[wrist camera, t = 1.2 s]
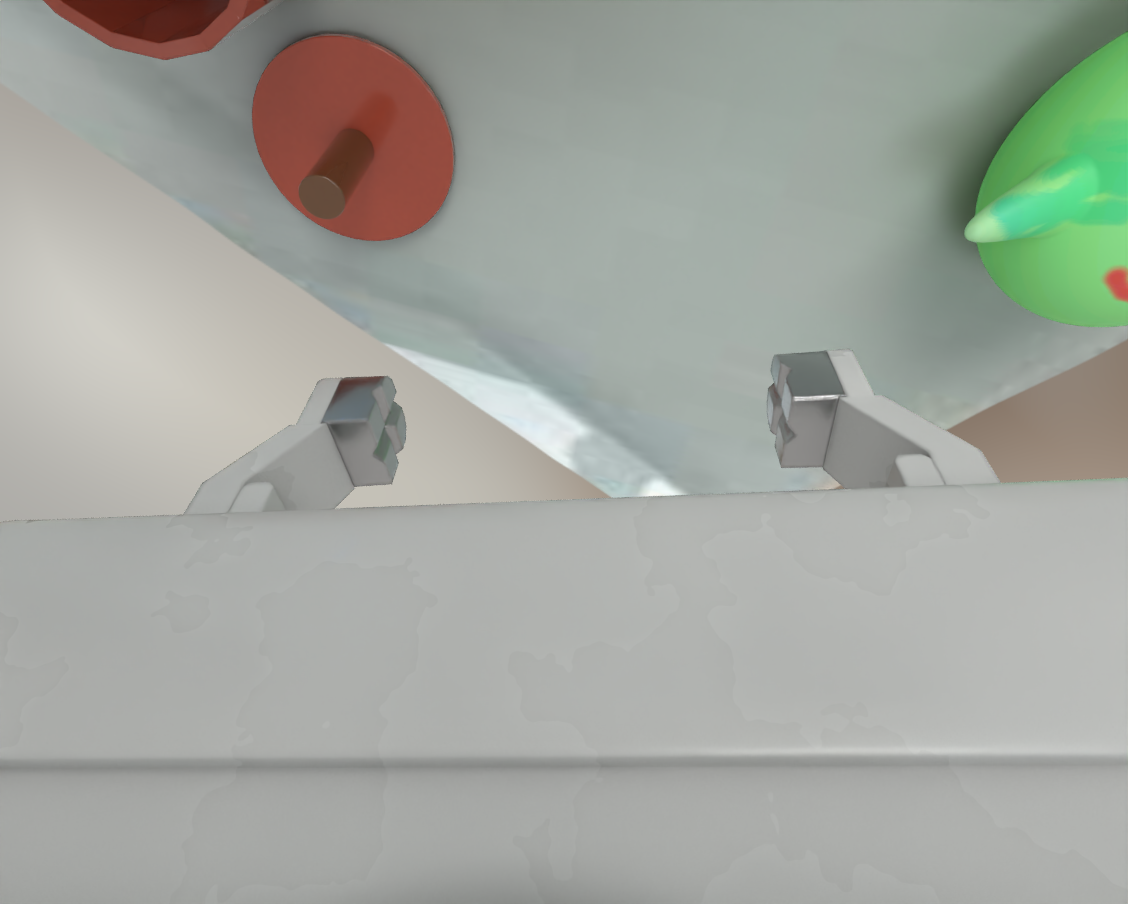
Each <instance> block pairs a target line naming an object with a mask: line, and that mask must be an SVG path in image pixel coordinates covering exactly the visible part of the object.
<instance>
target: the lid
mask: <svg viewBox="0 0 1128 904" xmlns="http://www.w3.org/2000/svg"><path fill="white" fill-rule="evenodd" d="M252 124H253V131H254V137H255V142H256V145H257V149H258V152H259V155H260V157H261V159H262V162H263V164H264V166H265V168H266V170H267V172H268V174H269V176H270V177H271V179H272V180H273V182H274V183H275V185H276V186H277V188H278V189H279V190H280V191H281V193H282V194H283V195H284V196H285V197H286V199H287V200H288V201H289V202H290V203H291V204H292V205H293V206H294V207H296V208H297V209H298V210H299V211H300V212H301V213H303V214H304V215H305V216H306V217H308V218H309V219H311V220H312V221H314V222H315V223H317V224H318V225H320V226H322V227H324V228H326V229H328V230H330V231H332V232H335V233H337V234H340V235H343V236H346V237H350V238H354V239H360V240H368V241H381V240H390V239H394V238H399V237H402V236H405V235H407V234H410V233H412V232H414V231H415V230H417V229H419V228H421V227H422V226H423V225H424V224H426V223H427V222H428V221H429V220H430V219H431V218H432V217H433V216H434V215H435V214H436V213H437V211H438V210H439V208H440V207H441V205H442V204H443V202H444V200H445V198H446V196H447V194H448V191H449V188H450V185H451V181H452V177H453V171H454V145H453V139H452V134H451V129H450V126H449V123H448V120H447V118H446V115H445V113H444V111H443V109H442V106H441V104H440V102H439V101H438V99H437V97H436V96H435V94H434V93H433V91H432V89H431V88H430V87H429V86H428V84H427V83H426V82H425V80H424V79H423V78H422V77H421V76H420V75H419V74H418V73H417V72H416V71H415V70H414V69H413V68H412V67H411V66H410V65H409V64H408V63H407V62H405V61H404V60H403V59H402V58H400V57H399V56H398V55H396V54H394V53H393V52H391V51H390V50H388V49H387V48H385V47H383V46H381V45H378V44H376V43H374V42H372V41H369V40H366V39H363V38H360V37H357V36H351V35H345V34H321V35H314V36H311V37H307V38H304V39H301V40H299V41H297V42H295V43H293V44H291V45H289V46H288V47H287V48H285V49H284V50H283V51H281V52H280V53H279V54H278V55H277V56H276V57H275V58H274V59H273V60H272V61H271V62H270V63H269V64H268V66H267V67H266V69H265V70H264V72H263V73H262V75H261V78H260V80H259V82H258V84H257V87H256V91H255V95H254V99H253V108H252Z"/></svg>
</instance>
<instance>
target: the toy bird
mask: <svg viewBox="0 0 1128 904" xmlns="http://www.w3.org/2000/svg"><path fill="white" fill-rule="evenodd" d="M964 236H965V238H966V239H967V240H969V241H972V242H977V247H978V250H979V254H980V257H981V259H982V261H983V264H984V266H985V268H986V270H987V271H988V273H989V275H990V276H991V278H992V279H993V280H994V282H995V283H996V284H997V285H998V287H999V288H1000V289H1001V290H1002V291H1003V292H1004V293H1005V294H1006V295H1007V296H1009V297H1010V298H1011V299H1012V300H1013V301H1015V302H1016V303H1018V304H1019V305H1020V306H1022V307H1024V308H1025V309H1027V310H1029V311H1031V312H1033V313H1035V314H1037V315H1039V316H1042V317H1044V318H1047V319H1050V320H1053V321H1057V322H1061V323H1065V324H1070V325H1077V326H1086V327H1114V326H1125V325H1128V32H1126V33H1124V34H1122V35H1121V36H1119V37H1117V38H1116V39H1114V40H1112V41H1111V42H1109V43H1108V44H1106V45H1105V46H1103V47H1102V48H1100V49H1099V50H1097V51H1096V52H1094V53H1093V54H1091V55H1090V56H1089V57H1087V58H1086V59H1084V60H1083V61H1082V62H1080V63H1079V64H1078V65H1077V66H1075V67H1074V68H1073V69H1071V70H1070V71H1069V72H1068V73H1067V74H1065V75H1064V76H1063V77H1062V78H1061V79H1060V80H1058V81H1057V82H1056V83H1055V84H1054V85H1053V86H1052V87H1051V88H1050V89H1049V90H1048V91H1046V92H1045V93H1044V94H1043V95H1042V96H1041V97H1040V98H1039V99H1038V100H1037V102H1036V103H1035V104H1034V105H1033V106H1032V107H1031V108H1030V109H1029V110H1028V111H1027V112H1026V114H1025V115H1024V116H1023V117H1022V118H1021V119H1020V121H1019V122H1018V123H1017V124H1016V126H1015V127H1014V128H1013V130H1012V131H1011V132H1010V134H1009V135H1008V136H1007V138H1006V139H1005V141H1004V142H1003V144H1002V145H1001V147H1000V148H999V150H998V152H997V153H996V155H995V157H994V159H993V160H992V162H991V164H990V166H989V168H988V170H987V173H986V175H985V177H984V180H983V182H982V185H981V188H980V191H979V195H978V199H977V204H976V211H975V216H974V217H973V218H972V219H971V220H970V222H969V223H968V224H967V226H966V228H965V231H964Z"/></svg>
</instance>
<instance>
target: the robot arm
mask: <svg viewBox="0 0 1128 904" xmlns="http://www.w3.org/2000/svg"><path fill="white" fill-rule="evenodd" d="M771 374H772V377H773V381H774V383H773V384H772V385H771V386H770V387H769V388H768V395H767V418H768V424H769V428H770V431H771V432H772V433H773V434H775V435H776V441H775V449H776V452H777V455H778V459H779V462H780V465H781V468H801V467H823V469H824V470H825V471H826V472H827V473H828V474H829V475H831V476H832V477H833V478H834V479H835V480H836V481H837V482H838V483H840V484H841V485H842V486H843V487H844V488H845V489H829V490H803V491H777V492H752V493H726V494H701V495H675V496H649V497H624V498H598V499H572V500H549V501H548V500H547V501H521V502H496V503H470V504H446V505H445V504H443V505H419V506H392V507H367V508H341V509H335V508H336V506H338V505H339V504H340V503H341V502H342V501H343V500H344V499H345V498H346V497H347V496H348V495H349V494H350V492H352V491H353V490H354V487H357V486H371V485H386V484H392V482H393V479H394V475H395V472H396V469H397V466H398V460H397V457H396V454H397V453H398V452H399V451H401V450H402V449H403V447H404V443H405V440H406V422H405V416H404V413H403V410H402V407H400V406H399V405H398V404H397V403H395V402H394V401H393V400H394V397H395V394H396V389H395V386H394V384H393V381H392V379H391V378H389V377H388V376H374V377H346V378H327V379H321V380H319V381H318V382H317V384H316V386H315V388H314V390H313V392H312V394H311V396H310V398H309V400H308V402H307V404H306V406H305V408H304V410H303V412H302V414H301V416H300V418H299V420H298V422H297V423H296V425H289V426H287V427H286V428H284V429H283V430H282V431H280V432H278V433H277V434H275V435H274V436H272V437H271V438H269V439H268V440H266V441H265V442H263V443H262V444H260V445H259V446H257V447H256V448H255V449H253V450H251V451H250V452H248V453H247V454H245V455H244V456H242V457H241V458H239V459H238V460H236V461H235V462H233V463H232V464H230V465H229V466H227V467H226V468H224V469H223V470H221V471H220V472H218V473H217V474H215V475H214V476H212V477H211V478H209V479H208V480H206V481H205V482H203V483H202V484H201V486H200V488H199V490H198V491H197V493H196V494H195V496H194V498H193V499H192V501H191V503H190V504H189V506H188V508H187V509H186V511H185V512H184V514H183V515H160V516H137V517H135V516H134V517H109V518H83V519H60V520H58V519H57V520H14V521H5V522H0V904H1128V478H1114V479H1090V480H1066V481H1042V482H1016V483H1015V482H1014V483H1001V482H1000V481H999V479H998V477H997V476H996V474H995V473H994V471H993V469H992V468H991V466H990V465H989V463H988V461H987V460H986V458H985V456H984V455H983V453H982V451H981V450H980V449H978V448H976V447H974V446H972V445H971V444H969V443H967V442H965V441H963V440H962V439H960V438H958V437H956V436H954V435H953V434H951V433H949V432H947V431H946V430H944V429H942V428H940V427H938V426H937V425H935V424H933V423H931V422H929V421H928V420H926V419H924V418H922V417H921V416H919V415H917V414H915V413H913V412H912V411H910V410H908V409H906V408H904V407H903V406H901V405H899V404H897V403H895V402H894V401H892V400H890V399H888V398H887V397H885V396H883V395H875V394H874V392H873V390H872V388H871V386H870V384H869V382H868V380H867V378H866V376H865V374H864V372H863V370H862V368H861V366H860V364H859V362H858V360H857V358H856V356H855V354H854V352H853V351H852V350H851V349H837V350H826V351H820V352H806V353H791V354H777V355H774V357H773V360H772V365H771Z"/></svg>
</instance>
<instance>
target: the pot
mask: <svg viewBox="0 0 1128 904" xmlns="http://www.w3.org/2000/svg"><path fill="white" fill-rule="evenodd" d="M43 1H44V2H45V3H46V4H47V5H48V6H49V7H50V8H51V9H52V10H53V11H54V12H55V13H56V14H58V15H59V16H61V17H62V18H64V19H66V20H67V21H69V22H71V23H72V24H74V25H76V26H77V27H79V28H80V29H82V30H84V31H85V32H87V33H89V34H90V35H92V36H94V37H95V38H97V39H99V40H100V41H102V42H103V43H105V44H107V45H108V46H110V47H113V48H115V49H120V50H124V51H128V52H132V53H137V54H141V55H145V56H149V57H154V58H158V59H162V60H168V59H173V58H178V57H183V56H187V55H192V54H197V53H202V52H206V51H209V50H211V49H213V48H214V47H216V46H217V45H219V44H220V43H222V42H223V41H225V40H226V39H228V38H229V37H231V36H232V35H234V34H235V33H237V32H238V31H240V30H241V29H243V28H244V27H246V26H247V25H249V24H250V23H252V22H253V21H255V20H256V19H258V18H259V17H261V16H262V15H264V14H265V13H267V12H268V11H270V10H271V9H273V8H274V7H276V6H277V5H279V4H280V3H281V2H282V1H283V0H43Z"/></svg>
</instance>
